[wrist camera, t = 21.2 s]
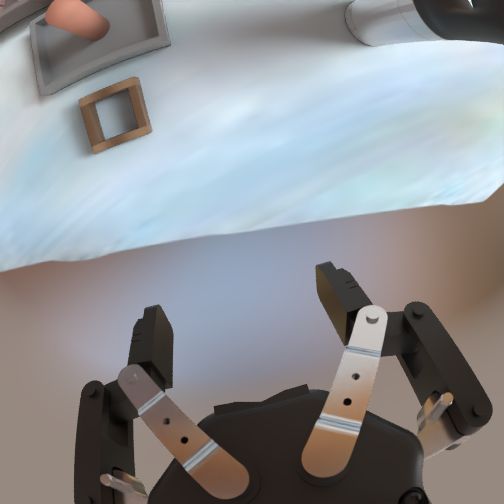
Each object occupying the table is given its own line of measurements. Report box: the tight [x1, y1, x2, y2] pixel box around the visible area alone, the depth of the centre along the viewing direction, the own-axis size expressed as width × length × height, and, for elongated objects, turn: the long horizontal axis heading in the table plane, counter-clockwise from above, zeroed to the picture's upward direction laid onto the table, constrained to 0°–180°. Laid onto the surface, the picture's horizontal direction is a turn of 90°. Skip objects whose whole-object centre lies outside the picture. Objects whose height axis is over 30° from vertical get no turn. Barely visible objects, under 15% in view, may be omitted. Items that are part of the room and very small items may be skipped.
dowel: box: [45, 0, 110, 41], centre depth 20 cm, size 4×4×13 cm
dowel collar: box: [79, 77, 152, 154], centre depth 33 cm, size 9×9×3 cm
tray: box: [29, 0, 171, 95], centre depth 25 cm, size 20×14×4 cm
